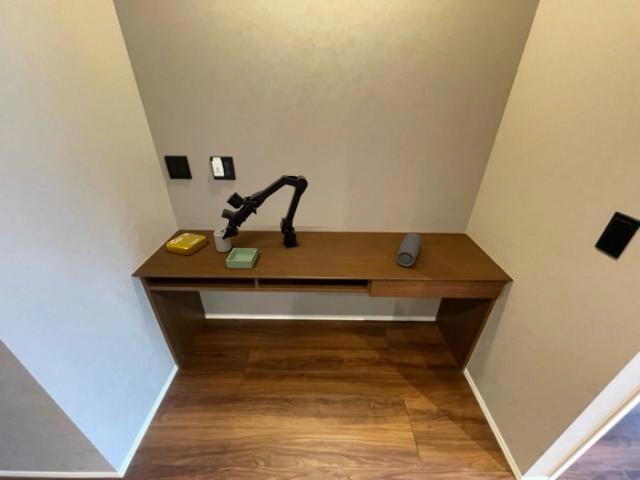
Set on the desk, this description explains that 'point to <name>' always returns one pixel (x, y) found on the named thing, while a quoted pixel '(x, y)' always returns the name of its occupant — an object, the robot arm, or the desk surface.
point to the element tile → (186, 244)
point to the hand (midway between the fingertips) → (223, 234)
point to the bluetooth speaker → (409, 249)
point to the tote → (242, 258)
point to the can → (221, 240)
